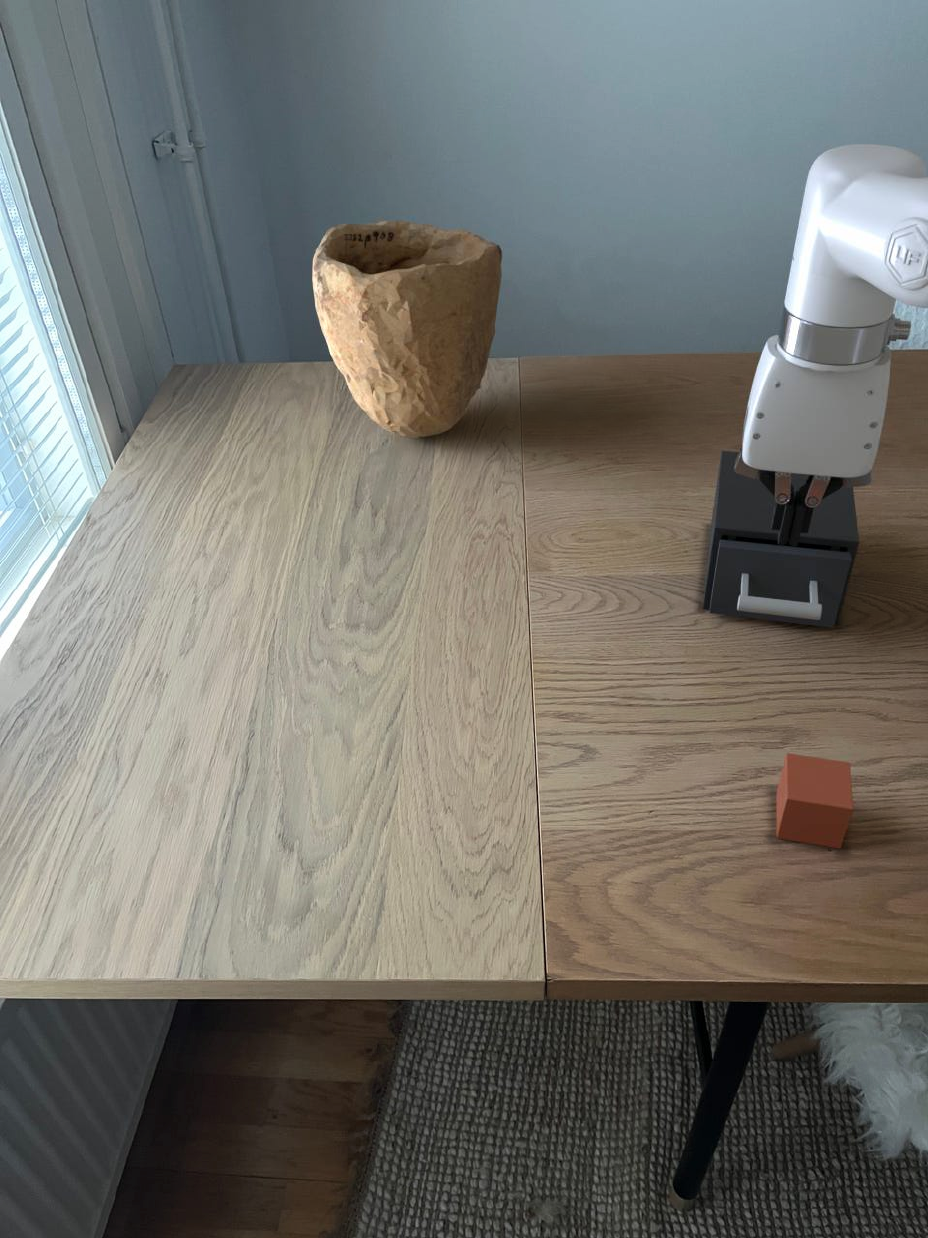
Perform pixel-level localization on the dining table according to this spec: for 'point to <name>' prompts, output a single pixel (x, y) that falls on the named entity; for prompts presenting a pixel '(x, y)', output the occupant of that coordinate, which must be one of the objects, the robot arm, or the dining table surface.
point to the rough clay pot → (408, 318)
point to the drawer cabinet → (750, 510)
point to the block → (814, 800)
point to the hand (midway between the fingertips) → (787, 536)
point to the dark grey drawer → (779, 581)
